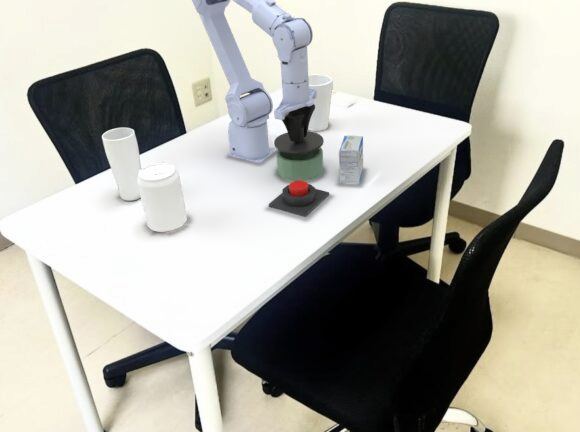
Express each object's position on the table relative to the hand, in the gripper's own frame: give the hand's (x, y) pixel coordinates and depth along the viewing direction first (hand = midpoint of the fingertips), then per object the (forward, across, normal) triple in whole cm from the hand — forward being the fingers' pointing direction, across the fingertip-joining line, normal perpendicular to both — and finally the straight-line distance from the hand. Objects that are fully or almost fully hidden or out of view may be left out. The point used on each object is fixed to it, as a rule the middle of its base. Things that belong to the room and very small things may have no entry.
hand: (298, 138), depth 125 cm
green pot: (+9, 0, 0) cm, 9 cm away
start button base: (+9, -12, -7) cm, 16 cm away
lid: (+1, 0, 0) cm, 1 cm away
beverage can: (+9, -31, +13) cm, 35 cm away
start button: (+6, -12, -7) cm, 15 cm away
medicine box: (+9, +3, -12) cm, 15 cm away
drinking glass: (+9, -26, +28) cm, 39 cm away
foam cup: (+9, +25, +10) cm, 28 cm away
